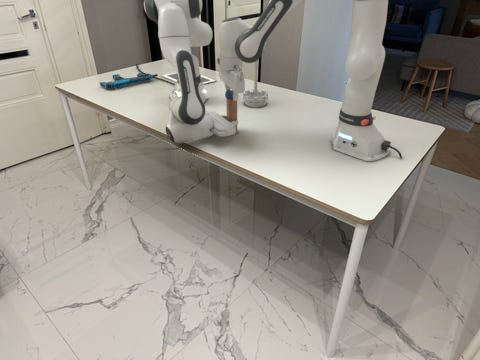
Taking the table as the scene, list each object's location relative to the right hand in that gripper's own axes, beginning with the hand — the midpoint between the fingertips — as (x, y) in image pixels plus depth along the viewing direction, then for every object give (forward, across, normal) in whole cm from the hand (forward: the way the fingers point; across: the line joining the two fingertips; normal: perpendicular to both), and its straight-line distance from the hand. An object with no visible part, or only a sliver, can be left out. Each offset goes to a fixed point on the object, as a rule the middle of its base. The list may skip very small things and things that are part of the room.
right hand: (231, 97), depth 140 cm
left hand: (+10, 0, -1) cm, 10 cm away
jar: (+16, 0, 0) cm, 16 cm away
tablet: (+16, +84, -2) cm, 86 cm away
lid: (-2, 0, 0) cm, 2 cm away
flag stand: (+16, +28, -24) cm, 40 cm away
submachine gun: (+16, +93, +34) cm, 100 cm away
